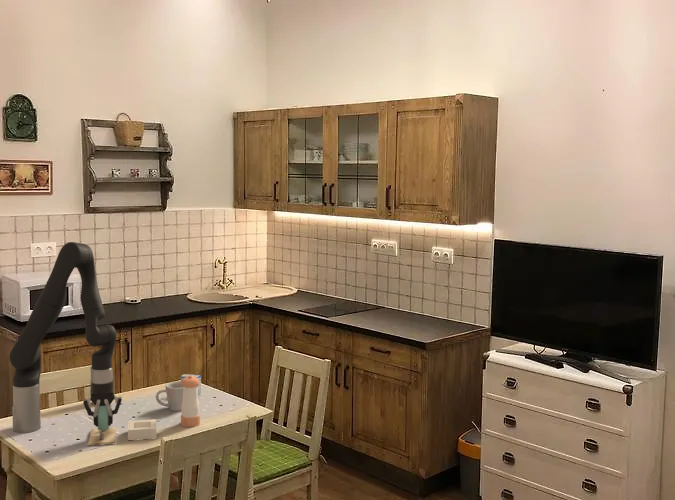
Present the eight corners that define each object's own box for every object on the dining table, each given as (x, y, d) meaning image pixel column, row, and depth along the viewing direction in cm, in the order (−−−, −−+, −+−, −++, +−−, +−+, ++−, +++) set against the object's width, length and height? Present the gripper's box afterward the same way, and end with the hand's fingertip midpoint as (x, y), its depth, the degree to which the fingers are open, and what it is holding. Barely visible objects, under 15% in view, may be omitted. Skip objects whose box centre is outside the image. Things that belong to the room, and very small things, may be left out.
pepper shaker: (199, 426, 286) (199, 378, 284) (180, 427, 285) (180, 378, 283) (200, 420, 293) (200, 372, 291) (181, 420, 292) (181, 373, 290)
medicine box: (180, 395, 324) (180, 376, 323) (184, 392, 328) (183, 373, 327) (197, 397, 322) (197, 377, 321) (201, 393, 327) (201, 374, 326)
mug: (195, 409, 306) (195, 385, 305) (160, 415, 297) (160, 391, 296) (185, 402, 314) (185, 379, 313) (151, 408, 306) (150, 384, 305)
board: (88, 446, 264) (88, 436, 264) (91, 431, 279) (91, 422, 278) (114, 444, 267) (114, 434, 266) (116, 429, 281) (116, 420, 281)
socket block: (127, 440, 270) (127, 430, 270) (128, 431, 280) (128, 420, 279) (156, 438, 272) (156, 428, 272) (156, 429, 282) (156, 419, 282)
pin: (97, 431, 270) (96, 406, 269) (98, 427, 274) (97, 403, 273) (108, 430, 271) (108, 406, 270) (109, 426, 275) (108, 402, 274)
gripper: (122, 375, 276) (123, 420, 278) (82, 378, 272) (83, 423, 274) (122, 381, 269) (123, 427, 271) (80, 384, 265) (81, 430, 267)
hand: (103, 425), depth 272 cm, fingers closed on pin, 4 cm apart
